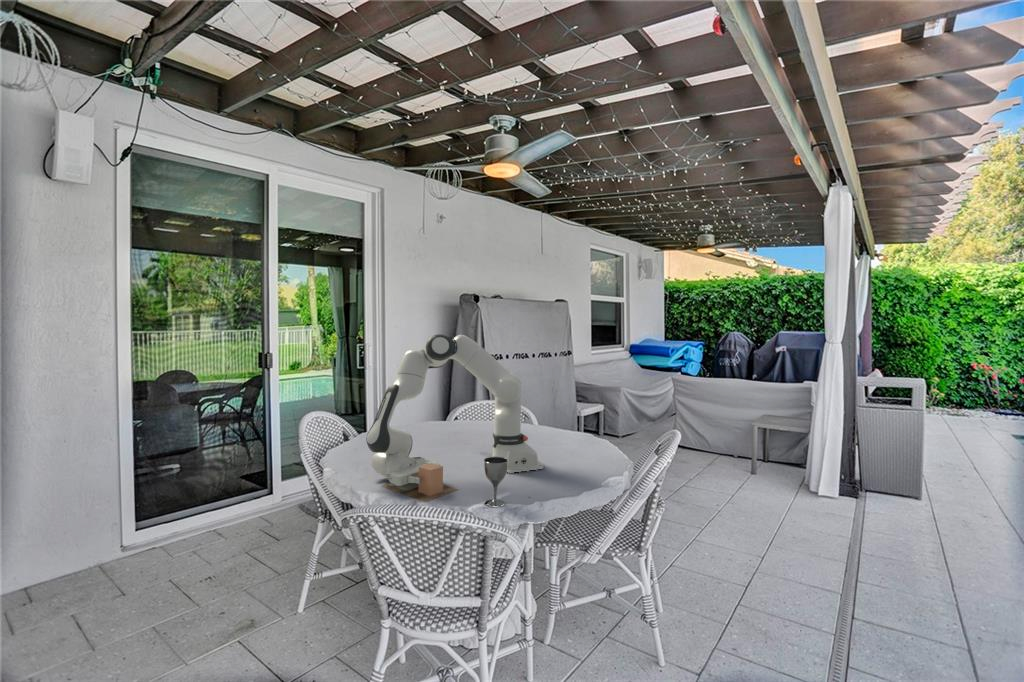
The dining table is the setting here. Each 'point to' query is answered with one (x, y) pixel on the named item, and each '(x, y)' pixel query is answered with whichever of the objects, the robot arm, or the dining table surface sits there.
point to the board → (413, 492)
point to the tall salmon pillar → (431, 479)
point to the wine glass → (495, 475)
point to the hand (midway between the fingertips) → (430, 477)
